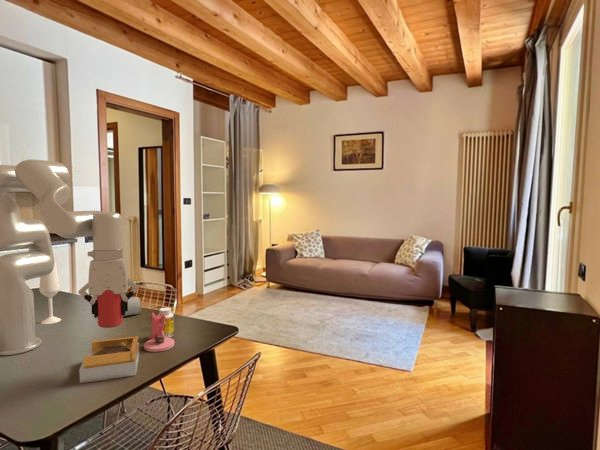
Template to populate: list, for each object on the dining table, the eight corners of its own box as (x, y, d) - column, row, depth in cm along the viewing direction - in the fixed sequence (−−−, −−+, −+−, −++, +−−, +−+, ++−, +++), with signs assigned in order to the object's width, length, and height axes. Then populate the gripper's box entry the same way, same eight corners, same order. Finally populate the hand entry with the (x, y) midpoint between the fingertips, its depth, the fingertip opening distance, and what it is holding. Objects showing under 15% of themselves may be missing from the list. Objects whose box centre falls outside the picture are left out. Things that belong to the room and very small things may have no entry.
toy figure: (180, 343, 126) (180, 309, 125) (159, 354, 117) (158, 318, 116) (159, 338, 130) (158, 305, 129) (137, 348, 121) (136, 313, 120)
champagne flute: (53, 324, 141) (50, 263, 139) (36, 323, 141) (33, 263, 139) (65, 318, 148) (62, 260, 146) (48, 317, 148) (46, 260, 146)
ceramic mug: (142, 315, 153) (142, 297, 152) (121, 319, 148) (120, 300, 148) (137, 309, 162) (136, 292, 161) (116, 312, 157) (116, 294, 156)
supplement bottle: (173, 338, 130) (173, 310, 129) (157, 340, 128) (156, 312, 127) (173, 332, 135) (173, 305, 134) (157, 334, 133) (157, 307, 132)
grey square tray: (79, 383, 99) (79, 360, 98) (89, 360, 112) (89, 340, 111) (135, 375, 104) (135, 353, 103) (139, 354, 117) (138, 335, 116)
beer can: (112, 329, 103) (111, 288, 102) (92, 327, 104) (91, 286, 103) (128, 321, 109) (126, 282, 108) (108, 319, 110) (107, 281, 109)
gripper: (70, 258, 98) (73, 322, 100) (140, 255, 104) (141, 316, 106) (76, 254, 105) (79, 314, 107) (141, 251, 111) (143, 308, 113)
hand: (110, 314), depth 106 cm, fingers closed on beer can, 6 cm apart
